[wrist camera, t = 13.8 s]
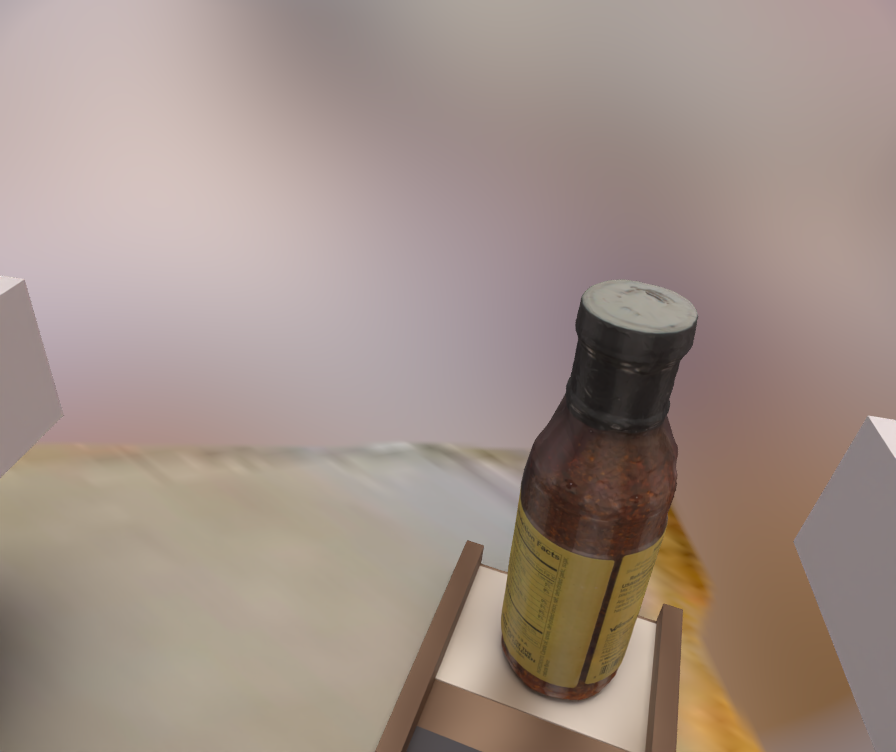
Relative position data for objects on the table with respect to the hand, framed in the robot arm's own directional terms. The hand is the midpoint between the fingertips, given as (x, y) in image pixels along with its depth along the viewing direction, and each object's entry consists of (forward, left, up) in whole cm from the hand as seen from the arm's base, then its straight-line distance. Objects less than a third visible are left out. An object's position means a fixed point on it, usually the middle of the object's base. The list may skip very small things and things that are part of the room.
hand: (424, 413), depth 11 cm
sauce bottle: (+4, +14, -23) cm, 27 cm away
